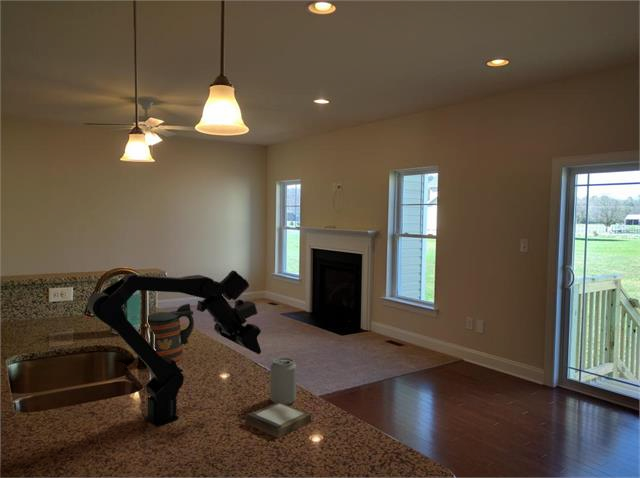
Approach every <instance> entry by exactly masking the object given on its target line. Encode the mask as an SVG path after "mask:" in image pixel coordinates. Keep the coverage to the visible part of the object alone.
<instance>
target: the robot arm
mask: <svg viewBox="0 0 640 478" xmlns="http://www.w3.org/2000/svg"><path fill="white" fill-rule="evenodd" d="M123 276H124V277H123ZM123 276H122V277H123V278H121V277H120V278H121V279H120V280H119V281H117V282H115V283H114V284H112V285H110V284H109V285H108V286H107V287H105V289H103V290H102V291H98V292H95V293H93V294H91V296H90V297H88V299H87V304H86V307H87V310H88V311H89V313H91V314H92V315H94V316H95V317H96V318H97V319H98V320H100V321H101V322H103V323H104V324H106V325H107V326H108V327H109V328H110V327H111V328H113V329H114V330H115V332H116V333H117V334H118V336H119V337H120V338H121V339H122V340H123V341H124V343H125V344H126V345H127V346H128V347H129V348H130V349H131V350H132V351H133V352H134V353H135V354H136V356H137V357H139V358H140V361H141V360H142V361H143V362H144V363H143V362H142V361H141V362H142V363H143V364H145V365H146V368H147V369H148V371H149V374H150V375H151V377H152V378H150V380H149V381H148V382H147V383H146V385H144V388H145V390H146V392H147V394H148V395H150V396H148V397H147V406H146V408H147V409H146V410H147V413H146V414H147V415H146V416H145V417H143V419H144V421H146V422H148V423H149V424H151V425H153V426H155V427H160V426H162V425H163V426H164V425H165V424H168V423H170V422H173V421H176V420H179V416H178V415H177V411H178V409H177V406H178V405H177V403H178V402H177V397H178V394H179V391H180V389H181V387H182V386H183V385H184V380H185V376H184V375H183V372H184V370H183V369H182V368H180V367H179V366H178V365H177V363H176V361H174V360H172V359H171V358H170V357H168V356H167V355H165V357H164V358H163V359H162V358H161V357H160V356H159V355H158V354H157V353H156V351H155V350H154V349H153V348H152V347H151V346H150V345H149V344H148V343H147V341H146V340H145V339H144V336H142V335H141V334H140V331H139V332H138V331H137V330H136V329H135V328H134V327H133V326H132V325H131V324H130V322H129V321H128V320H127V318H126V315H125V313H124V311H123V309H122V308H121V306H122V305H123V304H125V303H126V302H127V301H128V299H129V298H130V297H131V296H132V295H133V294H134V293H135V292H136V291H138V290H140V292H141V291H144V292H161V293H162V292H163V293H181V294H185V295H189V296H193V297H197V298H200V299H203V300H198V301H197V306H196V310H197V311H198V312H201V313H204V312H205V311H207V312H208V313H209V314H210V316H211V317H212V318H213V319H212V321H213V322H215V324H214V326H213V327H214V328H213V329H214V331H215V332H216V333H217V335H220V336H221V337H223V338H225V339H227V340H229V341H231V342H233V343H235V344H237V345H238V346H241V347H242V348H244V349H247V350H249V351H251V352H253V353H255V354H257V355H260V354H261V353H262V350H261V347H260V343H259V340H258V337H259V335H260V334H261V331H262V330H261V328H259V326H258V325H255V324H254V323H246V322H247V319H248V318H251V317H253V316H255V315H257V314H258V310H257V305H256V303H255V302H253V301H243V300H242V299H239V297H240V296H241V295H242V294H243V293H244V292H245V291H246V290H247V289H248V288H249V287H250V284H249V282H248V281H247V279H246V278H244V277H243V276H242V275H240V274H239V273H238V272H237V271H236V270H231V271H230V272H229V273H228V274H227V276H225V277H224V278H223V279H222V280H221V281H220V282H219V281H216V280H214V279H213V278H211V277H208V276H205V275H200V274H195V275H186V276H181V277H173V276H172V277H171V276H158V275H144V274H135V273H127V274H125V275H123ZM231 300H233V301H235V302H234V307H232V306H231V304H230V303H229V302H228V301H231ZM245 323H246V324H245ZM244 324H245V325H244Z"/></svg>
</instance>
